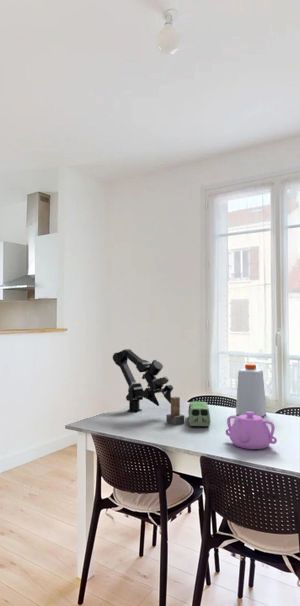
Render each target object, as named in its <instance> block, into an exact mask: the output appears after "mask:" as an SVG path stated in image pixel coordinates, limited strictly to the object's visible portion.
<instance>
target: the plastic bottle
mask: <svg viewBox="0 0 300 606" xmlns="http://www.w3.org/2000/svg"><path fill="white" fill-rule="evenodd" d="M237 372H238V373H237V388H236V390H237V391H236V406H235V407H236V408H235V413H236V415H237V416H239V415H245V414H246V412H248V411H250V412H254V415H257V416H260V417H262V418H263V417H264V416H265V415H266V414H267V405H266V404H267V403H266V393H265V392H266V391H265V380H264V372H263V370H262V369H260V368H259V369H258V368H257V365H256V364H254V363H246V364H245V365H244V368H241V369H239V370H238V371H237Z"/></svg>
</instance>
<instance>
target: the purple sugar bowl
mask: <svg viewBox="0 0 300 606" xmlns="http://www.w3.org/2000/svg"><path fill="white" fill-rule="evenodd" d="M231 419H234V421H233V423H232V425H231ZM226 423H227V429H225V434H226V436H228V437H229V439H230V442H231V443H232V444H233V445H234V446H236V447H238V448H242V449H245V450H254V449H258V450H263V449H266V448H268V446H269V445H270V444H272V445H274V444H276V443H277V441H278V439H277V437H276V436H274V433H275V424H274V423H273V422H272V421H270V420H269V419H267V420H265V419H264V418H263V417H260V416H257V415H254V412H250V411H248V412H246V414H245V415H237V416H236V415H230V416H228V417H227V419H226ZM269 425H270V428H271V430H270V428H269Z"/></svg>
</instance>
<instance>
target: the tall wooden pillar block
mask: <svg viewBox="0 0 300 606" xmlns="http://www.w3.org/2000/svg"><path fill="white" fill-rule="evenodd" d="M180 401H181V398H180V397H179V396H171V404H170V413H168V414H166V415H165V416H166V424H167V423H168V424H170V425H174V426H178V425H182V424H185V415H184V414H181V413H180V412H181V409H180V408H181V407H180V405H181V404H180V403H181V402H180Z"/></svg>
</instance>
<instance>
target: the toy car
mask: <svg viewBox="0 0 300 606" xmlns="http://www.w3.org/2000/svg"><path fill="white" fill-rule="evenodd" d="M209 409H210V408H209V405H208V403H207V401H190V402H189V406H188V423H189V427H191V428H193V427H206V428H210V426H211V414H210V413H211V412H210V410H209Z"/></svg>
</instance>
